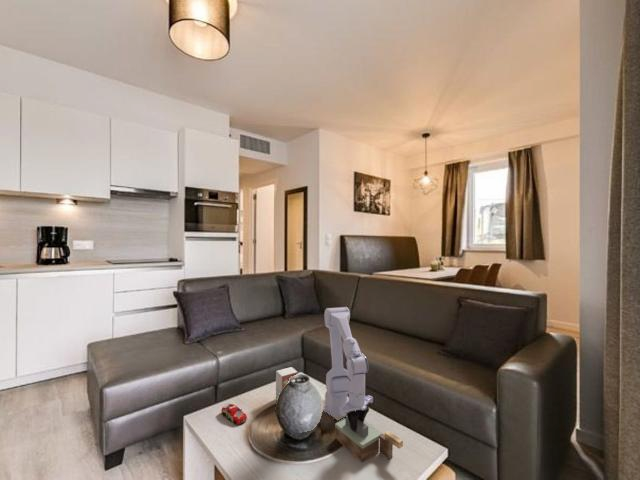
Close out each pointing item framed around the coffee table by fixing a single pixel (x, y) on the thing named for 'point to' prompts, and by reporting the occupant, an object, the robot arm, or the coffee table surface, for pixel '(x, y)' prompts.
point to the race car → (234, 414)
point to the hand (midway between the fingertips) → (356, 428)
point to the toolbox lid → (359, 432)
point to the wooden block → (393, 439)
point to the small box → (283, 378)
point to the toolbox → (369, 450)
